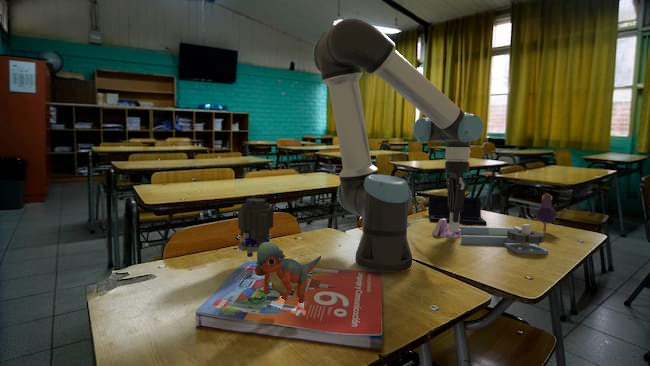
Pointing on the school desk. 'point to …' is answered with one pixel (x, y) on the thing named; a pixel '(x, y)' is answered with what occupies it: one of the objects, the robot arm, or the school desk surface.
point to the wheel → (526, 236)
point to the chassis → (500, 238)
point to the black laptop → (467, 216)
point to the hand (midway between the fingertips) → (453, 231)
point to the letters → (445, 230)
